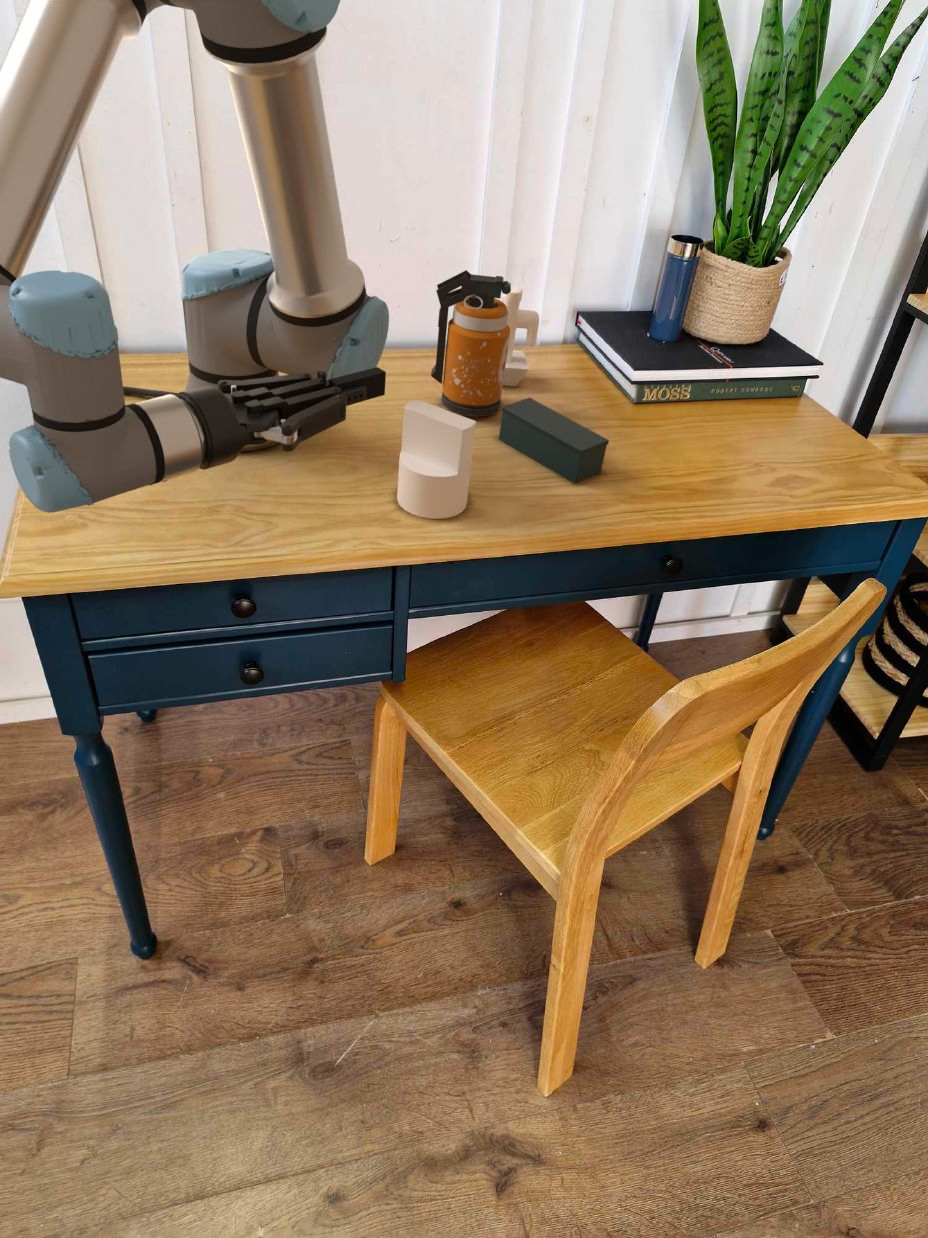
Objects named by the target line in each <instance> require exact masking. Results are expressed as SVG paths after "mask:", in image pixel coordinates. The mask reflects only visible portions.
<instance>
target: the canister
mask: <svg viewBox="0 0 928 1238" xmlns="http://www.w3.org/2000/svg"><path fill="white" fill-rule="evenodd" d="M511 284H512V283H511V282H509V281H508V280H504V277H503V276H502V275H496V276H491V275H481V274H472V273H470V271H468V270H467V269H465V270H464V271H462V272H459V273H458V274H456V275H454V276H452V277H450V278H448V279H446V280H444V281H442V282H440V283H438V284H436V287H437V289H436V296H437V298H438V302H439V305H440V308H439V311H438V321H437V327H438V332H437V344H436V345H437V346H436V347H437V348H436V356H435V365H434V366H433V367H432V368H431V372H430V377H431V378H433V379H434V381H435V380H436V381H437V382H438V383H439V384H441V385H442V392H441V403H442V406H443V407H445V409H446V410H448V411H450V412H453V413H455V414H458V415H461V416H464V417H472V418H473V417H474V418H475V417H476V418H477V417H486V416H490V415H493V414H495V413H497V412H498V411H499V410H500V408H501V403H502V394H503V387H504V386H503V381H504V373H505V365H506V358H507V350H508V343H509V335H510V327H509V326H508V325H507V321H508V310H507V307H506V305H505V304H504V303H503V302H504V301H502V300H500V299H501V297H502V294H509V293H510V291H511ZM452 306H453V311H452V317H451V319H449V308H450V307H452ZM448 319H449V321H448Z"/></svg>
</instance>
